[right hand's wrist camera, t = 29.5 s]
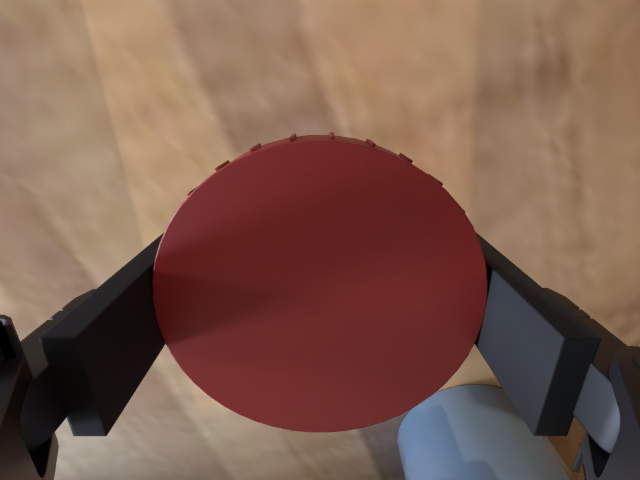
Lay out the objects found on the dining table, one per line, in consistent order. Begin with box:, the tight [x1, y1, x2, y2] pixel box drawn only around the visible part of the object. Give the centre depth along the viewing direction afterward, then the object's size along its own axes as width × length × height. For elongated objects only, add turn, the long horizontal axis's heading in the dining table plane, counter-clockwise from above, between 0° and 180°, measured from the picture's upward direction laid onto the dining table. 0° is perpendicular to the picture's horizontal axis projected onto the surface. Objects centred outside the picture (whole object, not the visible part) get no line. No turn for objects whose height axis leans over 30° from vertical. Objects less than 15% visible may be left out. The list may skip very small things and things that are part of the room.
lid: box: [152, 132, 488, 432], centre depth 11 cm, size 10×10×2 cm
